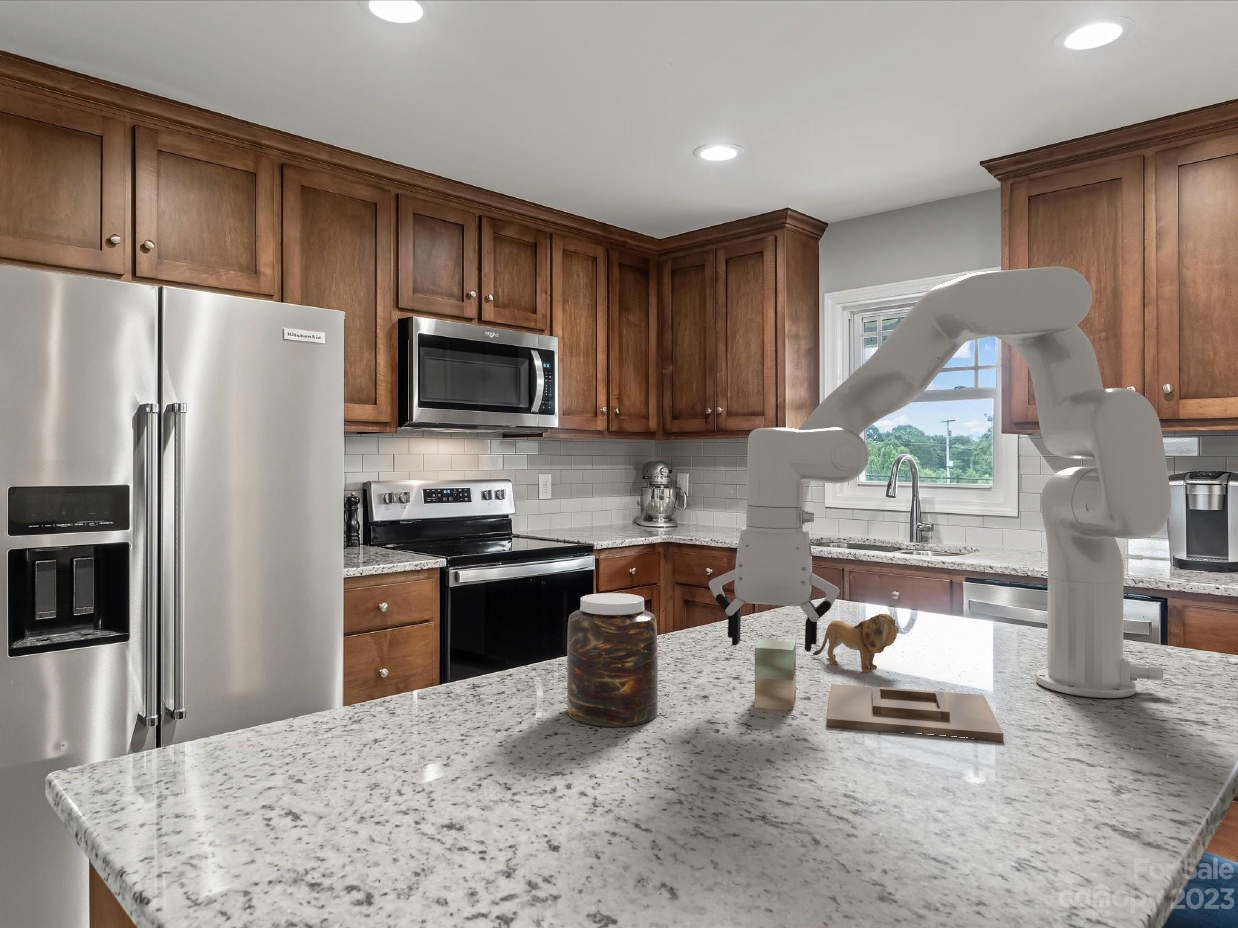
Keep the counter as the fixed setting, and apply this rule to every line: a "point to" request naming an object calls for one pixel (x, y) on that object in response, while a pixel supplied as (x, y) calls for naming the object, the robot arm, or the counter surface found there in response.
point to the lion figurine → (861, 638)
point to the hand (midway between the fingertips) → (771, 646)
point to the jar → (612, 661)
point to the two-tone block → (775, 674)
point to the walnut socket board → (912, 712)
